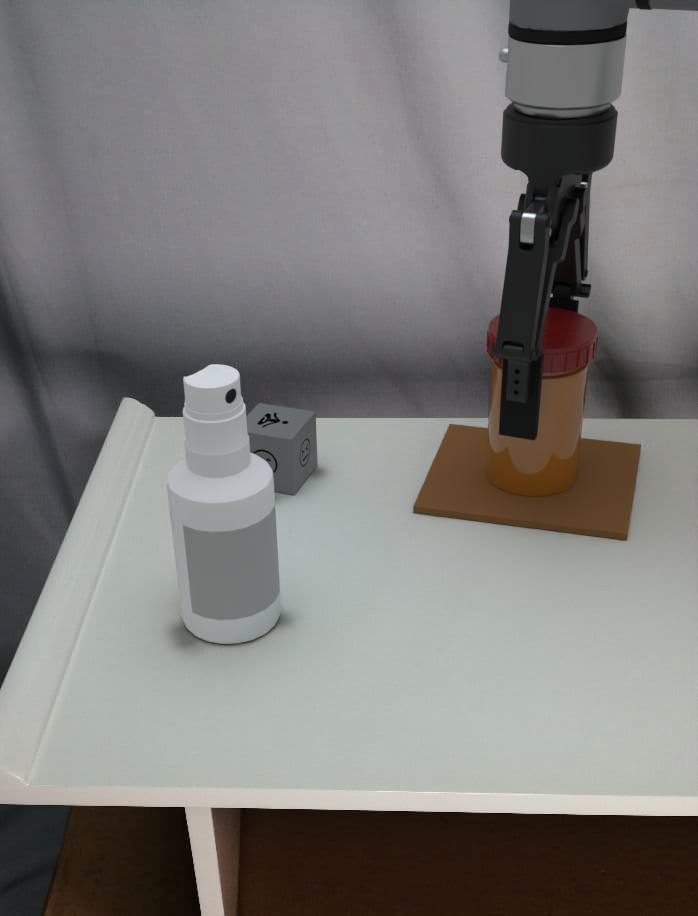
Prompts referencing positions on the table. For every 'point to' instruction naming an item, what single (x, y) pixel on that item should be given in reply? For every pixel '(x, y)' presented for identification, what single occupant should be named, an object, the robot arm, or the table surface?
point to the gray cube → (284, 443)
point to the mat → (574, 510)
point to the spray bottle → (223, 516)
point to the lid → (559, 340)
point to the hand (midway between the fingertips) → (536, 404)
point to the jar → (539, 437)
